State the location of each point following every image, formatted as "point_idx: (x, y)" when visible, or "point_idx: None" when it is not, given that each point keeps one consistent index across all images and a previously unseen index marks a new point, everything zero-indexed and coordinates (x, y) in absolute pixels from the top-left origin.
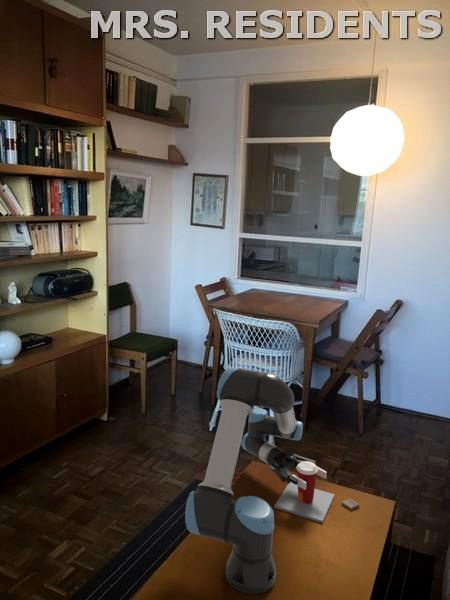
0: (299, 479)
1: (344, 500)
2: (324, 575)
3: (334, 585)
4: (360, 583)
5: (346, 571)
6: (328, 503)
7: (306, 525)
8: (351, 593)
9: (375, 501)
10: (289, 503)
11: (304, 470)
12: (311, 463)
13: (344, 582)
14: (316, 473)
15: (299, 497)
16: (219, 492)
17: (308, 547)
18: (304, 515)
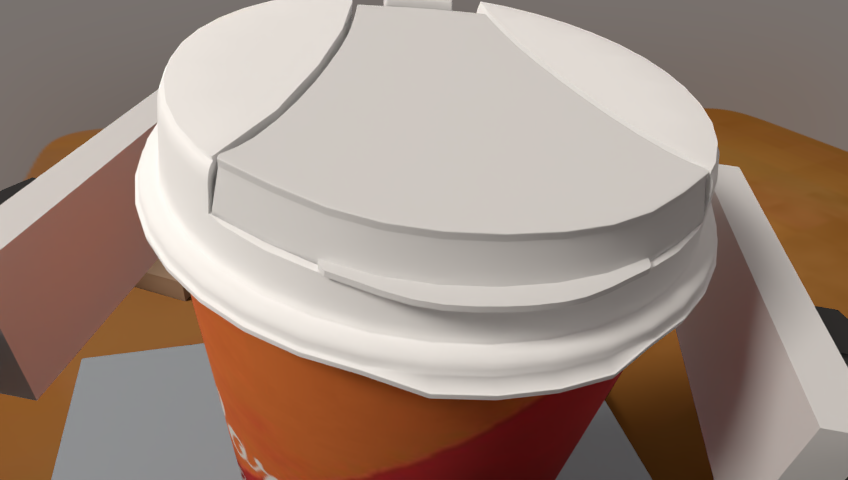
0: (779, 245)
1: (154, 274)
2: (842, 194)
3: (828, 163)
4: (712, 122)
5: (720, 155)
6: None
7: (676, 388)
8: (783, 129)
9: (35, 176)
10: None
11: (673, 78)
12: (254, 40)
13: (773, 148)
14: (122, 282)
15: None
16: None
17: (815, 294)
18: (620, 435)
